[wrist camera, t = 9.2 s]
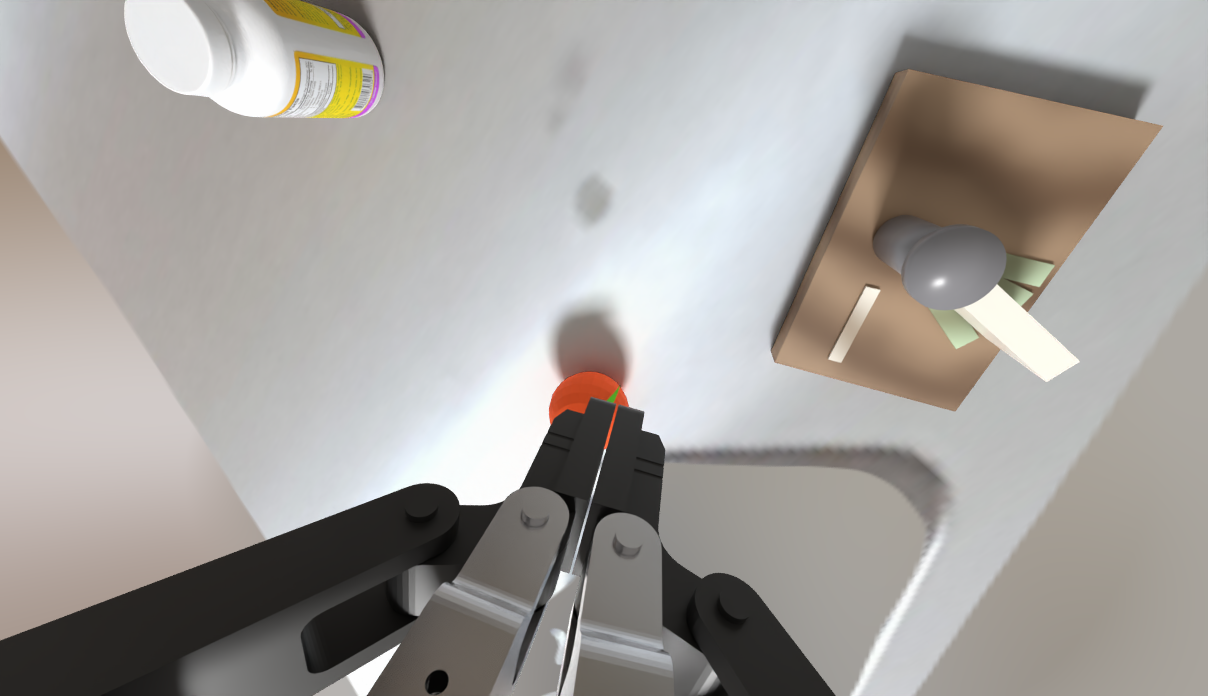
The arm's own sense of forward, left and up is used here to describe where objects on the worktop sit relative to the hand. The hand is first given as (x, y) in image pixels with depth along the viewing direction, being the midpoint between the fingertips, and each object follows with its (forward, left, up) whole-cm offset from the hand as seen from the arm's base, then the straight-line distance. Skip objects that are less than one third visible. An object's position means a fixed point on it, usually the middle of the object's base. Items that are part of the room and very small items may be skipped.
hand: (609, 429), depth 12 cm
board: (-3, +18, -25) cm, 31 cm away
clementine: (+15, -2, -25) cm, 29 cm away
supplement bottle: (-6, -26, -25) cm, 37 cm away
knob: (-2, +18, -23) cm, 29 cm away
